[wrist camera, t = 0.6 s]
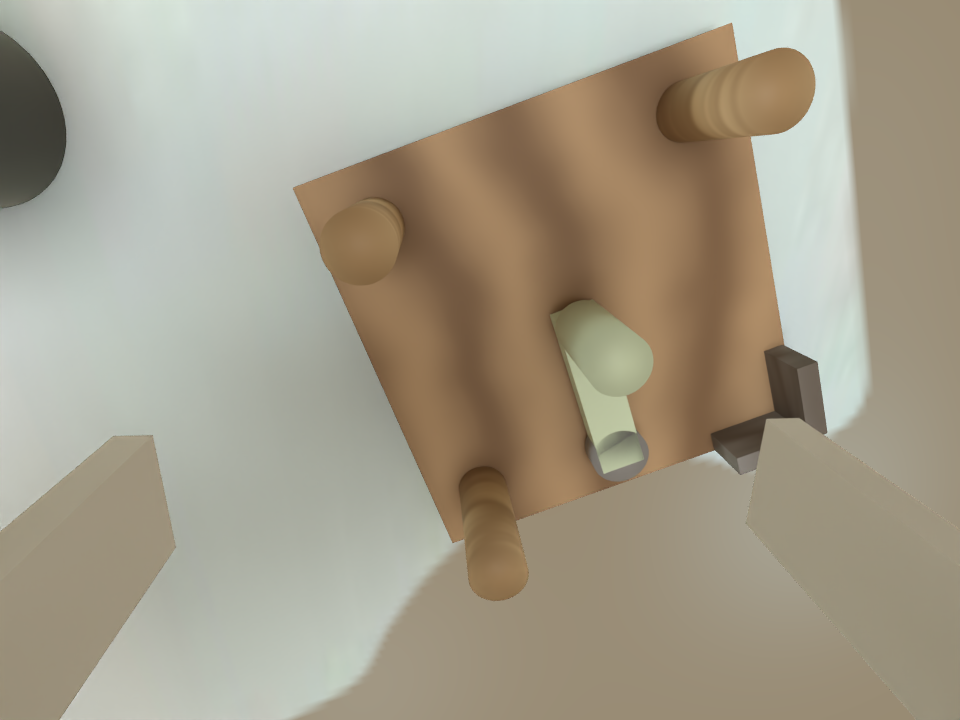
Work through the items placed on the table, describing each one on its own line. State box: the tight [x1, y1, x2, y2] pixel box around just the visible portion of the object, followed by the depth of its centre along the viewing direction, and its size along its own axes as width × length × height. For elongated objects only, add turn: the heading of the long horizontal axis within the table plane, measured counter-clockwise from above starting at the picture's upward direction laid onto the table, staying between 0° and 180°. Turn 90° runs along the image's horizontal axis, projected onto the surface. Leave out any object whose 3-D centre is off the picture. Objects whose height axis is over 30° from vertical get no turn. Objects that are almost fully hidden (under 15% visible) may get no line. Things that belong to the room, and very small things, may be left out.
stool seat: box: [293, 23, 827, 601], centre depth 27 cm, size 22×22×10 cm
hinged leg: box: [550, 299, 653, 482], centre depth 28 cm, size 11×3×7 cm, turn 19°
